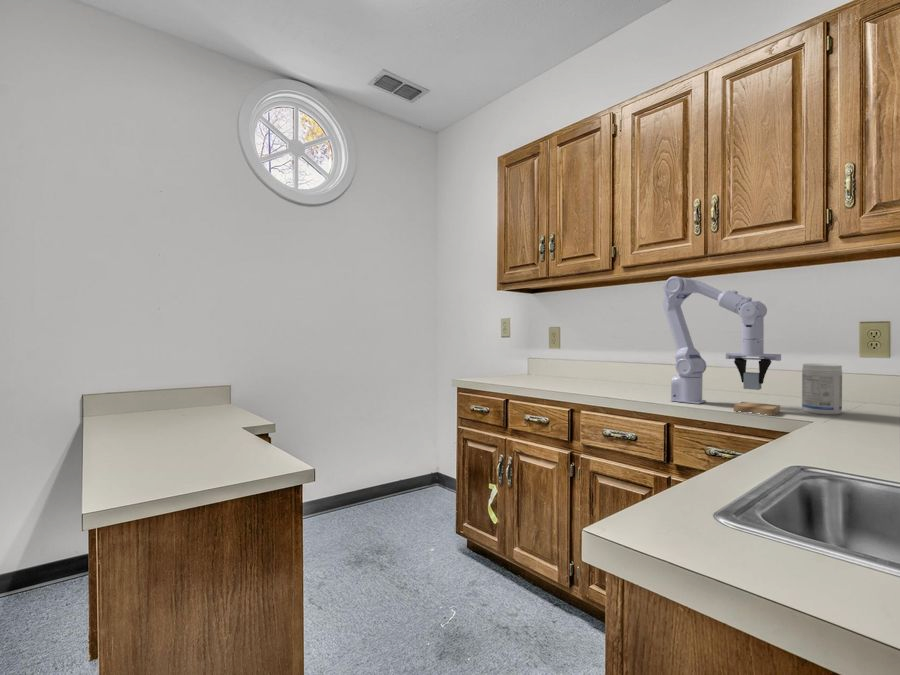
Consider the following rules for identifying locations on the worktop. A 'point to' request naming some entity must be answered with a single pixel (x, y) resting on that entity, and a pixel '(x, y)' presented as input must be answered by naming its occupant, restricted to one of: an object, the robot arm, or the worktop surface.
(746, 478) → the worktop surface
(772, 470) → the worktop surface
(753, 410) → the slab
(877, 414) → the worktop surface
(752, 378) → the block
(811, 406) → the supplement tub
